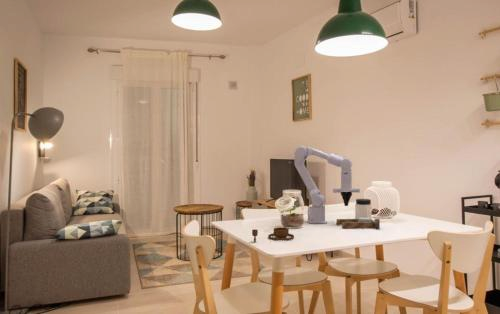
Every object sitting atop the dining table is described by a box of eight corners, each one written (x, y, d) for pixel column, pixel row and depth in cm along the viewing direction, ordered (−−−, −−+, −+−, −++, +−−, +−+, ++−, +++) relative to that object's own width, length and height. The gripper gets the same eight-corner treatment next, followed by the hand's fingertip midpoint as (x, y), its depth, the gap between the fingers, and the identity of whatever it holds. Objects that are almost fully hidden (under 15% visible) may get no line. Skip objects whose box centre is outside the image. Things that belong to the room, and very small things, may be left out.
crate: (359, 227, 216) (359, 219, 216) (357, 225, 222) (357, 217, 222) (371, 228, 216) (371, 219, 216) (369, 225, 222) (369, 217, 222)
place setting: (297, 243, 183) (297, 230, 183) (252, 244, 181) (252, 230, 181) (290, 235, 200) (290, 223, 200) (249, 235, 199) (249, 223, 199)
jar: (365, 222, 232) (365, 200, 231) (352, 220, 238) (352, 199, 237) (373, 220, 238) (373, 199, 238) (361, 218, 244) (361, 198, 244)
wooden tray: (344, 229, 210) (344, 220, 210) (336, 224, 224) (336, 215, 224) (380, 229, 211) (380, 219, 211) (370, 224, 225) (370, 215, 225)
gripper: (335, 181, 222) (335, 206, 222) (361, 181, 223) (361, 206, 223) (331, 180, 229) (331, 205, 229) (357, 180, 230) (357, 204, 230)
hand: (346, 205), depth 227 cm, fingers closed
